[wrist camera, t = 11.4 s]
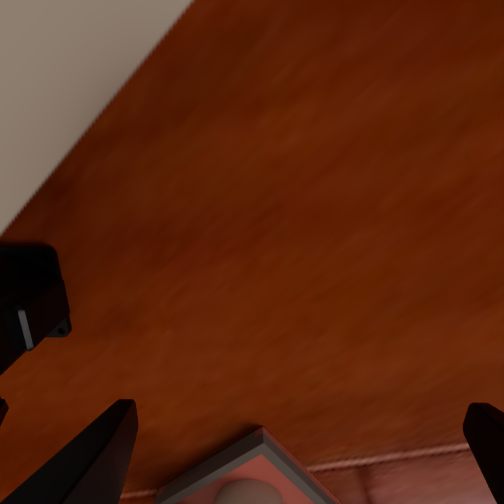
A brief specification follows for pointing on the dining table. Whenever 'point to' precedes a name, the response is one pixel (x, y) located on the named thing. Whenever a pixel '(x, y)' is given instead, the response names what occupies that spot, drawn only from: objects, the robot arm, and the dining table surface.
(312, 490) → the lacquer tray
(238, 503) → the sake flask
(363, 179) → the dining table surface
